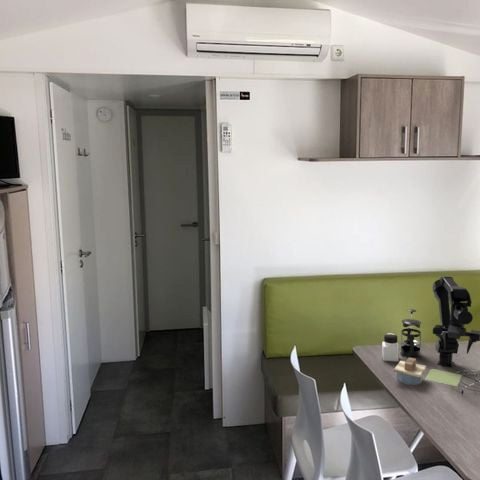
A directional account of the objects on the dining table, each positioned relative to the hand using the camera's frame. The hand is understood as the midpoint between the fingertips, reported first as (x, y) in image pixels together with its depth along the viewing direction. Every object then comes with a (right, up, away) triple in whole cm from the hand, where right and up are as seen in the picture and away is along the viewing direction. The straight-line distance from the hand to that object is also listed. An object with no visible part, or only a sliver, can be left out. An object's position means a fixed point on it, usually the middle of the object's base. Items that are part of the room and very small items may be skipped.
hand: (455, 351), depth 206 cm
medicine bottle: (-21, -9, +24) cm, 33 cm away
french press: (-10, -8, +28) cm, 31 cm away
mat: (-5, -12, +2) cm, 13 cm away
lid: (-20, -8, -1) cm, 22 cm away
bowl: (-20, -13, 0) cm, 24 cm away
